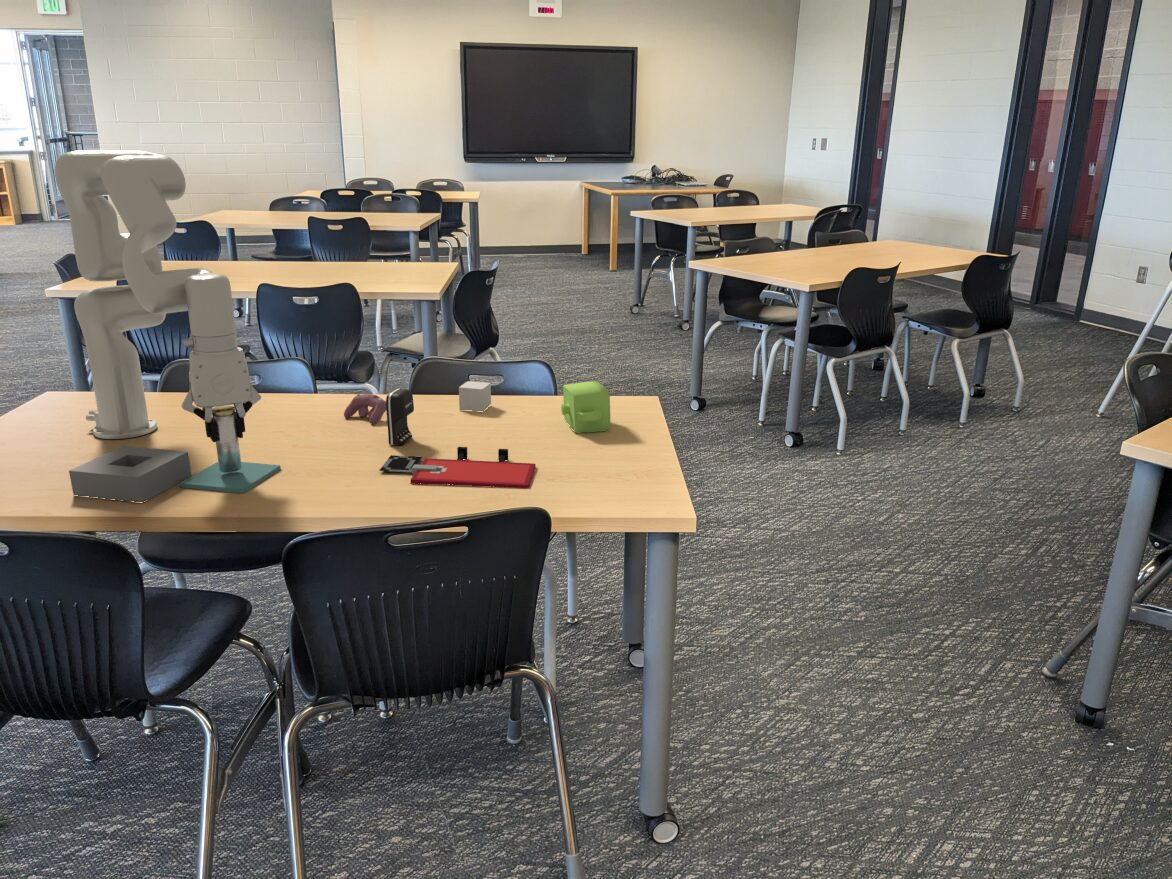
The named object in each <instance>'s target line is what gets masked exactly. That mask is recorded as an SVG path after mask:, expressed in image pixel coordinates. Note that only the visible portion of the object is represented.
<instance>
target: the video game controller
mask: <svg viewBox="0 0 1172 879" xmlns="http://www.w3.org/2000/svg"><path fill="white" fill-rule="evenodd" d="M369 407H370V408H371V409H369ZM356 413H358V416H359V417H361V418H367V417H368V419H369V423H370V425H375V423H376V424H377V423H379V421H380V420H381V419H382V417H383V416H384V413H386V400H385V399H383V398H382V397H380V396H378V395H376V394H373V393H357V394H356V396H354V397H353V398H352V399H351V401H350V403H349V404H348V405H347V406H346V408H345V410H344V411H343V417H344V418H345V419H350V418H352V416H354V415H355V414H356Z"/></svg>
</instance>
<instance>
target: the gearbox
mask: <svg viewBox="0 0 1172 879" xmlns="http://www.w3.org/2000/svg"><path fill="white" fill-rule="evenodd" d="M562 388H563V389H562V394H563V396H562V397H563V403H562V404H561V405H560V408H561V410H560V411H561V414H562V415H563V416H564V418H563V419H564V421H565V420H566V422H567V423H568V424H569V425H570V427H571V428H572V429H573V430H574V431H573V430H572V429H571V428H570V427H569V428H570V429H571V430H572V431H573V432H574V434H578V433H577V432H587V433H596V432H597V431H599V432H605V431H611V428H612V426H611V396H610V391H609V390H608V389H607V388H606V387H605V386H604V385H603V384H602V383H600V382H599V381H598V380H596V381H595V380H593V381H592V380H591V381H583V382H577V383H576V382H575V383H569V384H563V385H562ZM566 422H565V423H566ZM567 423H566V424H567Z"/></svg>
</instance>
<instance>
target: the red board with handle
mask: <svg viewBox="0 0 1172 879" xmlns="http://www.w3.org/2000/svg"><path fill="white" fill-rule="evenodd" d="M456 449H457V450H456V451H457V454H456V455H457V458H456V459H449V458H448V459H447V458H427V457H425V458H424V459H423V460H422V458H423V456H415V455H414V456H413V455H412V456H410V455H395V454H394V455H389V457H388V458H387V460H386V461H385V463H383V464H382V466H381V467H380V469H378V471H379V472H398V473H399V472H400V473H411V475H412V474H413V475H412V476H411V477H410V484H411V483H413V484H412V485H428V484H446V485H445V486H448V485H447V484H450V485H449V486H455V485H472V486H471V487H482V486H491V487H490V488H511V489H512V488H515V489H529V487H530V485H531V483H532V482H531V481H532V478H533V476H534V473H535V470H536V463H529V462H528V463H527V462H510V461H509V449H508V448H498V450H497V451H498V453H497V456H498V458H497V459H498V460H499V461H492V460H491V461H489V460H488V461H487V460H470V459H467V457H468V447H467V446H458V447H457V448H456ZM463 459H467V460H463ZM505 460H508V462H505ZM420 462H421V463H420ZM414 483H415V484H414ZM420 483H421V484H420ZM452 484H453V485H452ZM493 486H494V487H493Z"/></svg>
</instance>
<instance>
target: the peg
mask: <svg viewBox="0 0 1172 879" xmlns="http://www.w3.org/2000/svg"><path fill="white" fill-rule="evenodd" d="M235 412H236V411H235V407H234V405H224V406H217V407H213V408H212V418H213V421H214V422H215V426H216V434H217V441H216V442H215V447H216V456H217V460H218V461H217V462H218V464H219V471H221V472H235V471H238V470H240V469H241V468H242V466H241V462H242V459H241V457H242V456H241V450H240V442H239V440H240V439H239V437H238V432H237V424H236V415H235Z"/></svg>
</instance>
